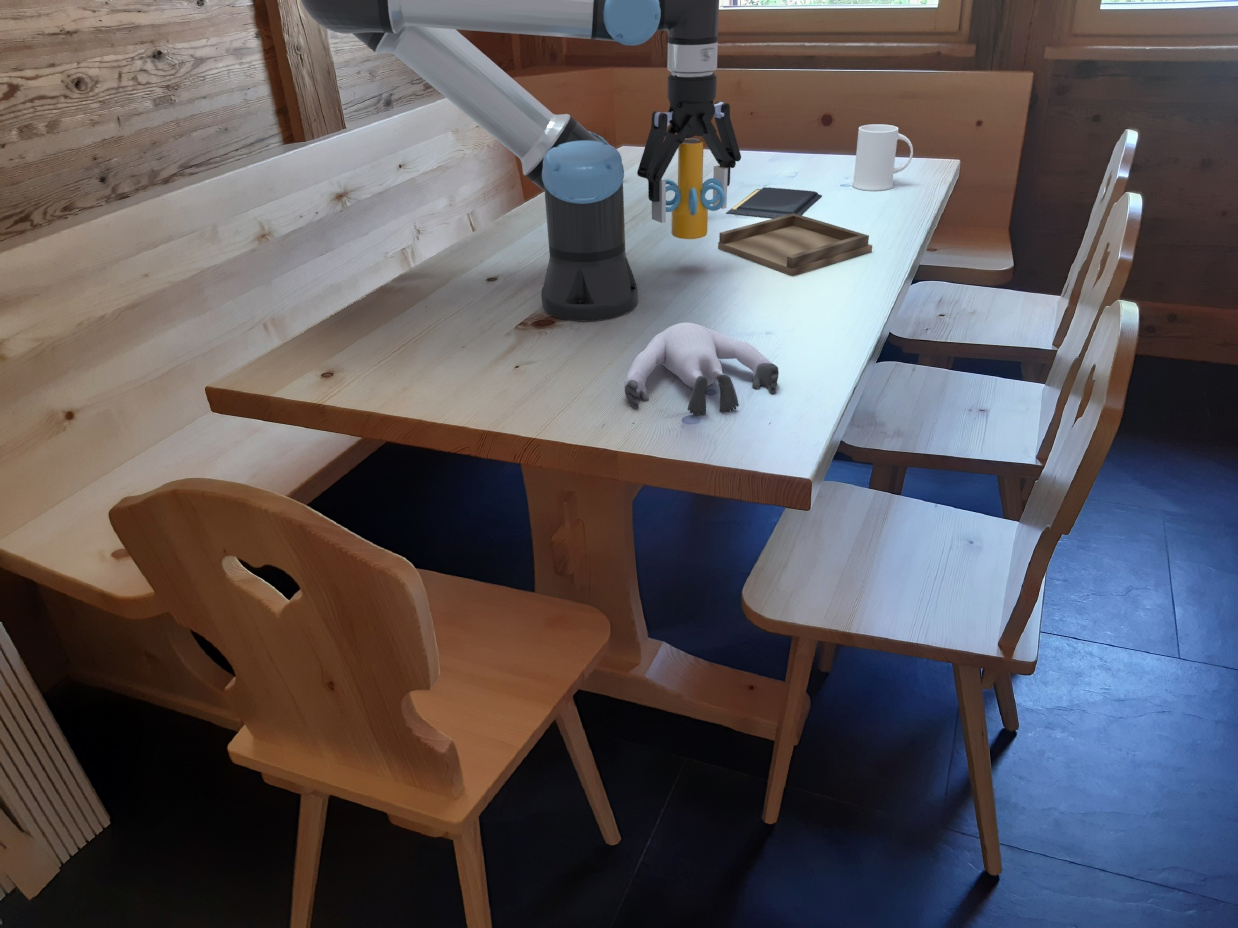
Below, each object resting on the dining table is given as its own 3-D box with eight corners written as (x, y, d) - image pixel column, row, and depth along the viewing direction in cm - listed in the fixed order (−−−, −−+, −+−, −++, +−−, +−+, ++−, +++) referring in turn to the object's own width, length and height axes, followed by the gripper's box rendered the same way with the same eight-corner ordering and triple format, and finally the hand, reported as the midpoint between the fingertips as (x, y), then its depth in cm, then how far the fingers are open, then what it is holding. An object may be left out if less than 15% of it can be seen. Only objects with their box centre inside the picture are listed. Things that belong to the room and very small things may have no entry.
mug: (909, 182, 198) (916, 124, 192) (908, 192, 191) (915, 133, 185) (853, 180, 201) (858, 123, 195) (850, 190, 194) (856, 131, 188)
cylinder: (642, 239, 150) (641, 145, 143) (669, 222, 158) (669, 132, 150) (710, 248, 145) (713, 151, 138) (734, 230, 153) (739, 138, 145)
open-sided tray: (792, 276, 150) (793, 258, 149) (718, 248, 164) (718, 232, 162) (871, 251, 159) (873, 235, 158) (794, 227, 173) (795, 212, 171)
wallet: (795, 215, 176) (722, 207, 182) (794, 224, 177) (722, 216, 183) (826, 189, 191) (758, 183, 197) (825, 198, 192) (757, 192, 198)
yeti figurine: (785, 426, 111) (758, 356, 128) (793, 377, 108) (764, 312, 125) (625, 421, 110) (619, 351, 127) (628, 372, 107) (621, 306, 124)
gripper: (642, 84, 130) (643, 233, 142) (768, 67, 142) (760, 205, 153) (612, 78, 136) (616, 222, 147) (736, 62, 147) (730, 196, 159)
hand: (689, 214), depth 150 cm, fingers closed on cylinder, 12 cm apart
